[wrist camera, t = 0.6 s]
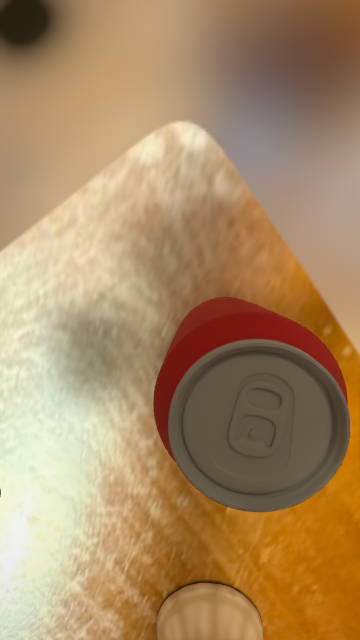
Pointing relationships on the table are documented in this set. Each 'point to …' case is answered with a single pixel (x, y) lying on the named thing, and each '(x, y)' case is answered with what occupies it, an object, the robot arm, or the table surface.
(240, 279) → the table surface
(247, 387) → the beverage can
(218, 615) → the hand bell
